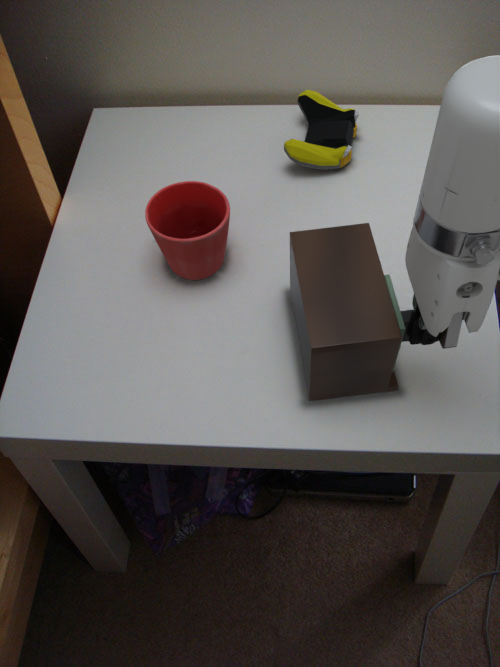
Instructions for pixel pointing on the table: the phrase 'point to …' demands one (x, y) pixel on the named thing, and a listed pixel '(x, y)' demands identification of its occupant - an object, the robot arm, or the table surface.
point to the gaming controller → (323, 133)
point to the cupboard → (342, 312)
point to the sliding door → (399, 313)
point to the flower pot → (190, 227)
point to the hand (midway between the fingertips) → (422, 336)
